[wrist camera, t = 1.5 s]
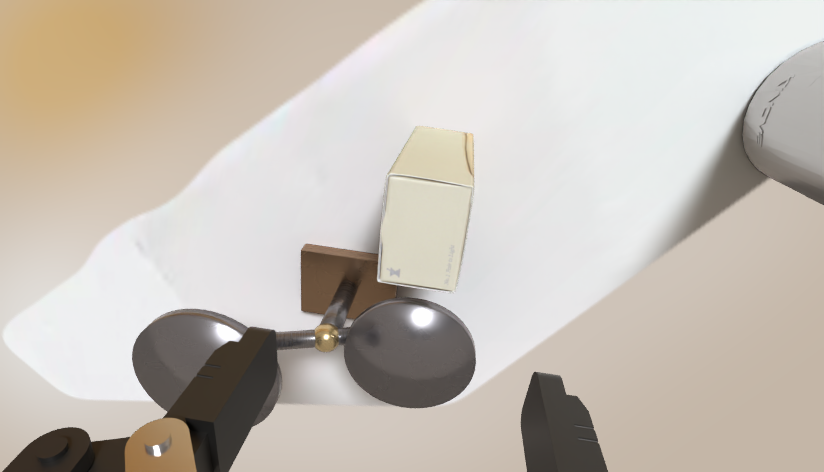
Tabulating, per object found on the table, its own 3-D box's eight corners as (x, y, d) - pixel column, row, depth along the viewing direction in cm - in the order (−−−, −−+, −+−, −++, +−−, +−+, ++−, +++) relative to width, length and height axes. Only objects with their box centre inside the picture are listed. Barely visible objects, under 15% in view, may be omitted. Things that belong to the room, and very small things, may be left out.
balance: (482, 253, 35) (490, 364, 24) (464, 340, 39) (464, 473, 28) (229, 216, 36) (119, 305, 25) (236, 305, 40) (145, 418, 29)
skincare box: (460, 210, 34) (458, 299, 23) (403, 202, 34) (374, 286, 23) (474, 129, 31) (479, 186, 20) (412, 121, 31) (384, 173, 21)
